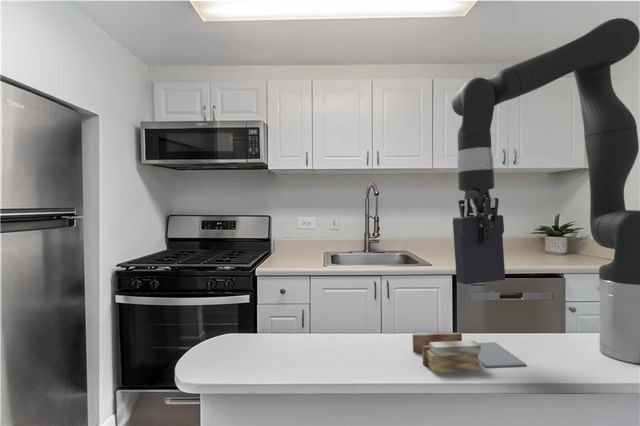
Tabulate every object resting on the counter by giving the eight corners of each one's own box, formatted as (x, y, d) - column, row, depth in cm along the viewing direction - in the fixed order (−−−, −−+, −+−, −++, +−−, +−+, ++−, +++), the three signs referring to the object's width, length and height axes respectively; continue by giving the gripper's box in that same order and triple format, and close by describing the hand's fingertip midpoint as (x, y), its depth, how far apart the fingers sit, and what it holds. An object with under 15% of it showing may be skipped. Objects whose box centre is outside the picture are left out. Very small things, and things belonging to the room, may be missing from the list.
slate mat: (495, 343, 86) (495, 342, 86) (526, 365, 74) (526, 364, 74) (460, 345, 85) (460, 343, 85) (486, 367, 73) (486, 365, 73)
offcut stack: (474, 364, 75) (473, 340, 75) (480, 370, 72) (480, 345, 72) (426, 366, 74) (426, 342, 74) (431, 373, 72) (431, 347, 71)
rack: (460, 348, 83) (460, 332, 83) (476, 363, 75) (476, 345, 75) (412, 350, 82) (412, 334, 82) (423, 365, 75) (423, 347, 75)
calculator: (493, 277, 82) (489, 215, 82) (507, 280, 78) (503, 214, 78) (454, 282, 79) (450, 217, 79) (466, 285, 75) (462, 217, 75)
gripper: (510, 164, 71) (513, 245, 72) (475, 172, 86) (478, 239, 86) (475, 166, 71) (479, 247, 71) (446, 173, 85) (449, 241, 86)
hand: (478, 242), depth 79 cm, fingers closed on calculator, 4 cm apart
